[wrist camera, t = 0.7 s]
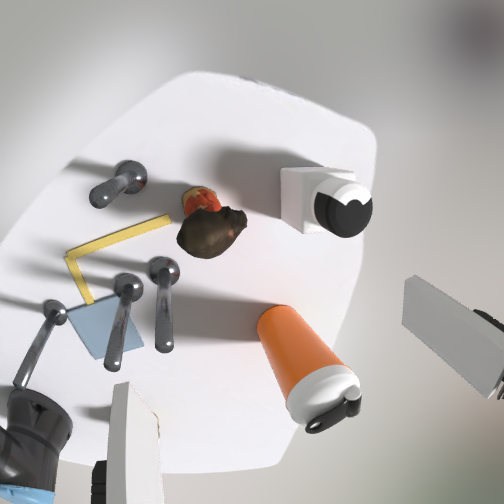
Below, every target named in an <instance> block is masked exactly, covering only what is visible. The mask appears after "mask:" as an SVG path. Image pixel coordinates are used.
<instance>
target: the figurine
mask: <svg viewBox="0 0 504 504" xmlns="http://www.w3.org/2000/svg"><path fill="white" fill-rule="evenodd" d="M182 204H183V208H184V213H185V215H186V219H185V220H184V222H183V224H182V226H181V229H180V231H179V233H178V235H177V238H176V239H177V243H178V245H179V246H180V247H181V248H182V249H183V250H185V251H186V252H187V253H188V254H190V255H192V256H194V257H197V258H203V259H211V258H214V257H216V256H219V255H221V254H222V253H223V252H224V251H226V250H227V249H228V248H229V247H230V246H231V245H232V244H233V242H234V241H235V240H236V238H237V237H238V235H239V234H240V233H241V231H242V230H243V229H244V228H246V227H247V217H246V214H245V213H244V212H243V211H242V210H240V211H237V210H233V209H231V208H230V207H229V206H226V207H222V206H221V204H220V202H219V200H218V199H217V196H216V193H215V192H214V191H212V190H211V189H208V188H206V187H194V188H192V189H190V190H189V191H186V192H185V194H184V195H183V197H182Z"/></svg>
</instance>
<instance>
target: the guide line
mask: <svg viewBox="0 0 504 504" xmlns="http://www.w3.org/2000/svg"><path fill="white" fill-rule="evenodd" d="M168 224H171V220H170V217H169V214H167V215H164V216H161V217H158V218H155V219H152V220H150V221H147V222H144V223H141V224H138V225H136V226H133V227H130V228H127V229H125V230H122V231H119V232H117V233H114V234H111V235H109V236H106V237H103V238H101V239H98V240H96V241H93V242H91V243H88V244H86V245H83V246H81V247H78V248H76V249H73V250H71V251H68V252H67V255H68V257H65V260H66V262H67V264H68V266H69V269H70V271H71V273H72V275H73V277H74V279H75V281H76V283H77V285H78V287H79V289H80V291H81V293H82V295H83V297H84V299H85V301H86V303H87V305H91V304H94V303H95V301H94V299H93V297H92V295H91V293H90V291H89V289H88V287H87V285H86V283H85V281H84V279H83V277H82V275H81V273H80V271H79V268H78V266H77V264H76V262H75V259H76V258H78V257H81V256H83V255H86V254H88V253H91V252H94V251H96V250H99V249H102V248H104V247H107V246H109V245H112V244H115V243H117V242H120V241H123V240H126V239H128V238H131V237H134V236H137V235H140V234H142V233H145V232H148V231H151V230H154V229H157V228H159V227H162V226H165V225H168Z"/></svg>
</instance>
